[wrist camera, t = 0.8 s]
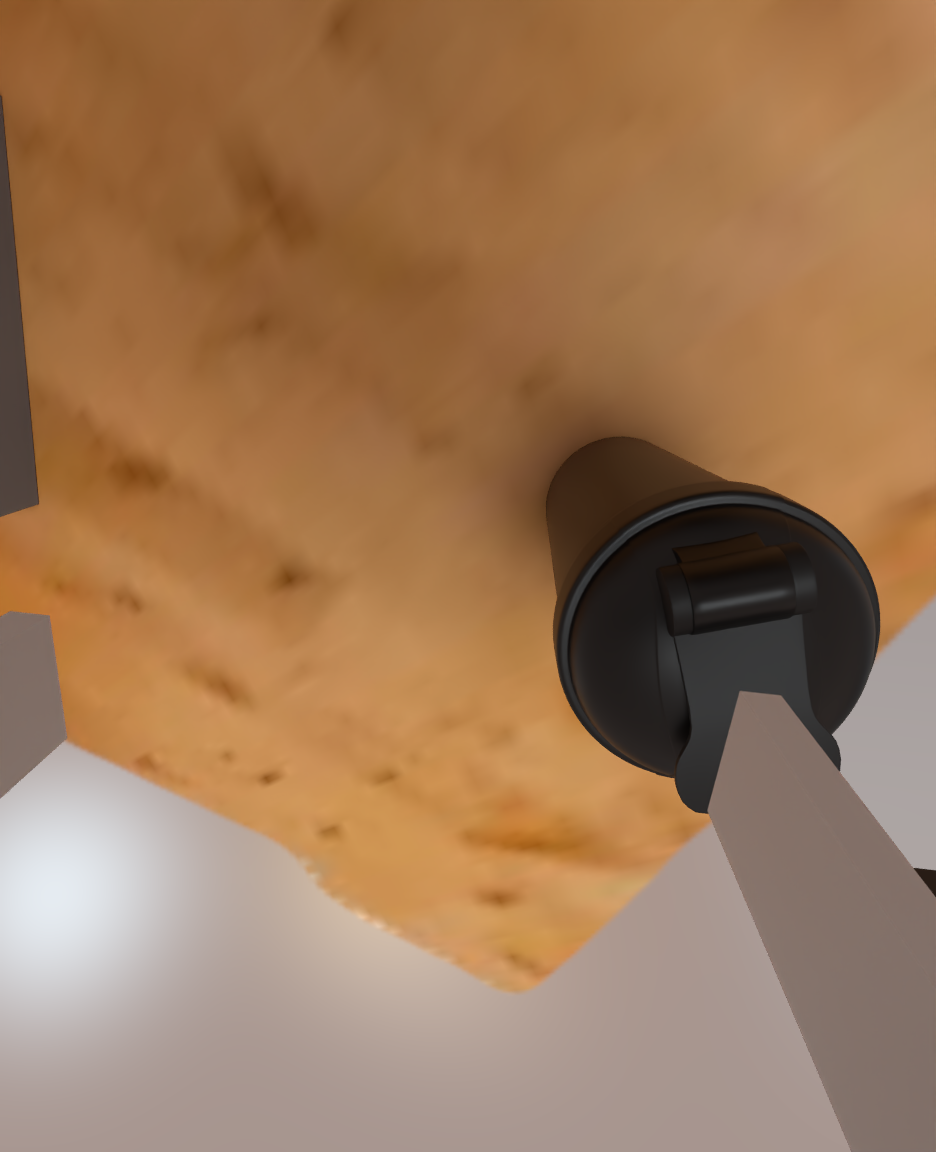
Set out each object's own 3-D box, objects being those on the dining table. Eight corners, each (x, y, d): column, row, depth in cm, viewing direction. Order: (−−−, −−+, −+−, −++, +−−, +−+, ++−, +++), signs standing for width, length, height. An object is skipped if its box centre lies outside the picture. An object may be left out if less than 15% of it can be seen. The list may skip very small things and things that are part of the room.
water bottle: (548, 599, 42) (596, 870, 20) (517, 442, 38) (534, 561, 17) (709, 569, 40) (947, 823, 19) (691, 404, 37) (951, 480, 16)
